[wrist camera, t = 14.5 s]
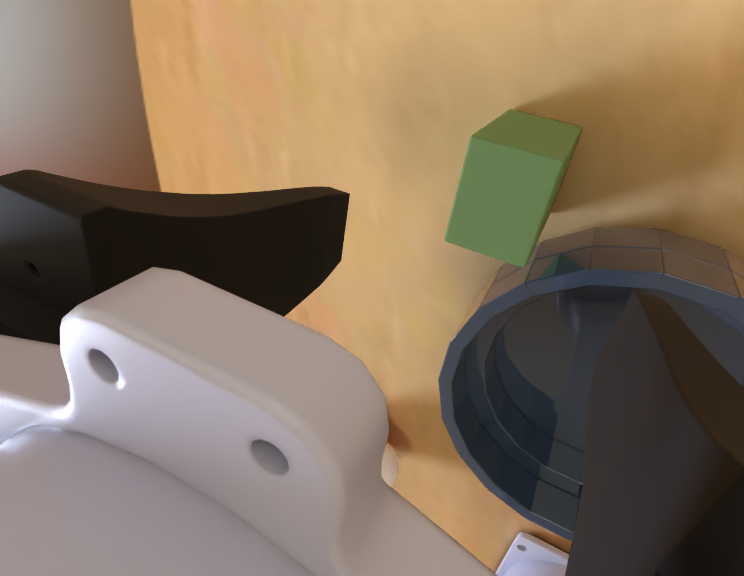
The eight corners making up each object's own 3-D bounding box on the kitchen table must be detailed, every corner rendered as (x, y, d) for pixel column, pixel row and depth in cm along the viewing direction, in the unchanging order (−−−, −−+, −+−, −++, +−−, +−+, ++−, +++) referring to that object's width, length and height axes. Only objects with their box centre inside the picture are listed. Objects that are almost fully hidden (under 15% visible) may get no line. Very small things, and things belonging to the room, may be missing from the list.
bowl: (697, 520, 23) (709, 611, 19) (442, 404, 27) (412, 462, 23) (905, 296, 16) (983, 375, 12) (514, 181, 20) (488, 216, 16)
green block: (549, 215, 20) (524, 269, 15) (483, 195, 20) (443, 241, 16) (583, 126, 18) (565, 160, 13) (509, 108, 19) (470, 135, 14)
